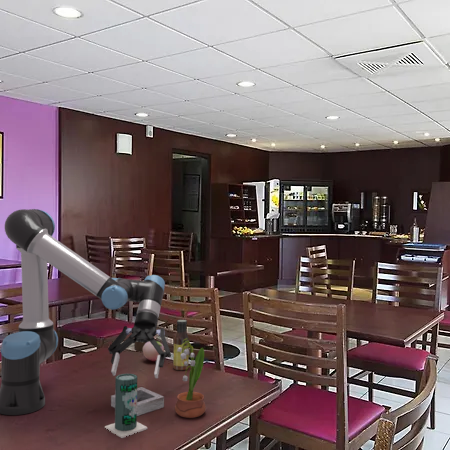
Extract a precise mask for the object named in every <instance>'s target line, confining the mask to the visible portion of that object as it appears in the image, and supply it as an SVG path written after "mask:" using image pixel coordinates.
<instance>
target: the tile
mask: <svg viewBox="0 0 450 450" xmlns="http://www.w3.org/2000/svg"><path fill="white" fill-rule="evenodd" d="M105 428H106V429H105ZM104 429H105V430H107V429H108V430H109V431H108V430H107V431H108V432H110V431H111V432H110V433H112V434H113V435H115V434H116V435H115V436H117V437H119V438H121V439H125V438H126V436H127V437H129V435H130V436H132V435H135V434H137V432H138V433H140V432H143V431H146V430H148V426H146V425H145V424H142V423H140V422H139V421H137V426H136V428H134V429H133V430H129V431H120V430H117V429H116V428H115V422H114V423H109V424H108V425H105V426H104ZM134 433H135V434H134Z"/></svg>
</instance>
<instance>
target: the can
mask: <svg viewBox="0 0 450 450" xmlns="http://www.w3.org/2000/svg"><path fill="white" fill-rule="evenodd" d="M114 380H115V384H114V385H115V387H114V390H115V391H114V393H115V394H114V395H115V408H114V423H115V428H116V429H117V430H120V431H129V430H133V429H134V428H136V426H137V422H138V418H137V417H138V416H137V402H138V401H137V388H138V376H137V375H136V374H133V373H121V374H118V375H117V376H116V375H115V379H114Z"/></svg>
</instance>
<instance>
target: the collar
mask: <svg viewBox="0 0 450 450" xmlns="http://www.w3.org/2000/svg"><path fill="white" fill-rule="evenodd" d="M110 406H111V407H112V408H114V409H115V394H113V395H110ZM164 407H165V396H163V395H162V394H159V393H157V392H154V391H151V390H149V389H147V388H145V387H143V386H141V387H137V417H139V416H141V415H144V414H149V413H151V412H153V411H157V410H160V409H162V408H163V409H164Z"/></svg>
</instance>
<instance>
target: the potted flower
mask: <svg viewBox="0 0 450 450" xmlns="http://www.w3.org/2000/svg"><path fill="white" fill-rule="evenodd" d="M188 338H189V337H188ZM188 338H186V339H187V340H188ZM186 339H184V340H186ZM184 340H183V341H184ZM187 342H188V344H189V345H188V344H187V346H186V347H185V348H186V349H185V348H184V345H185V343H187ZM182 345H183V347H182V348H181V346H182ZM182 345H181V346H180V347H179V348H178V350H177V351H179V352H181V351H182V354H181V359H182V360H184V358H185V359H186V360H187V358H186V355H187V354H189V356H187V357H189V358H190V364H189V361H185V362H184V365H185V366H186V365H187V366H188V367H187V369H186V370H185V373H184V375H183V376H182V381H183V382H188V391H184V392H181V393H179V394H177V396H176V398H177V399H176V403H175V406H174V411H175V413H176V415H178V416H180V417H183V418H187V419H194V418H198V417H200V416H202V415H203V414H204V413H205V412H206V410H207V407H206V402H205V401H204V399H205V395H204V394H203V393H201V392H197V391H194V389H195V387H196V385H197V382H198V380H199V379H200V377H201V374H202V370H203V368H204V363H205V361H204V360H205V350H204V347H200V349H199V350H198V352H197V354H196V356H195V353H194V351H193V350H194V347H193V345H192V344H191V342H190V340H189V341H185V342H184V344H182ZM187 347H189V349H187ZM183 348H184V349H185V350H184V353H183ZM189 368H190V370H189V376H188V375H186V374H187V371H188V369H189Z"/></svg>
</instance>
